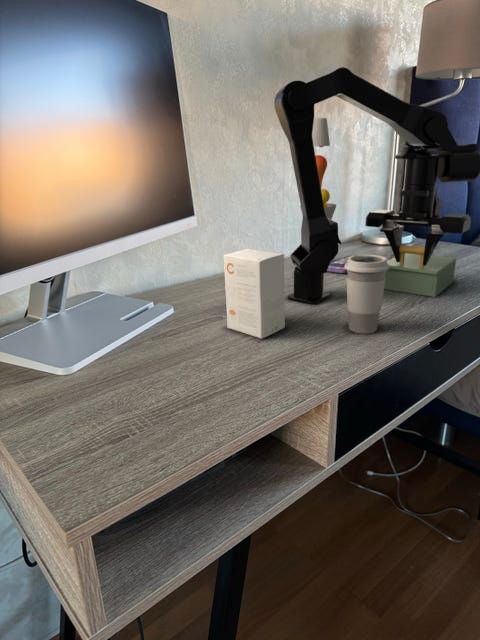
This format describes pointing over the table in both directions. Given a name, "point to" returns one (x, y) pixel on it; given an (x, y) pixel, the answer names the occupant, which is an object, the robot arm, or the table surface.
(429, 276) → the desk box
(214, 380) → the table surface
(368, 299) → the cup
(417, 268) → the box lid
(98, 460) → the table surface
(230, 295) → the small box
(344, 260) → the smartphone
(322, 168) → the lava lamp
